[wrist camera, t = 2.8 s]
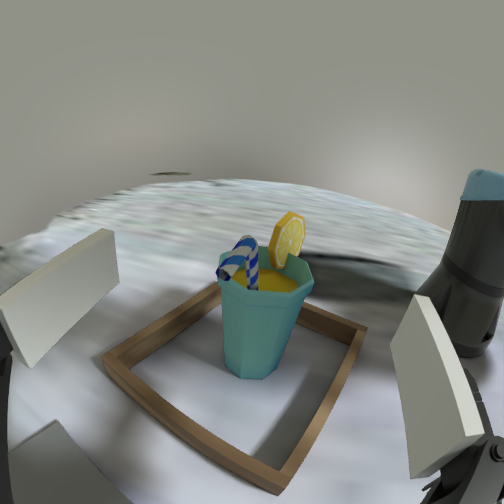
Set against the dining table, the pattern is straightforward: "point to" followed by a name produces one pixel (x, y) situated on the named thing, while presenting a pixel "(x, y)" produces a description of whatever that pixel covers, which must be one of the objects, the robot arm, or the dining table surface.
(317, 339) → the dining table surface
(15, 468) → the board
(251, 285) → the cup
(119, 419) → the dining table surface
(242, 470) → the wooden picture frame
